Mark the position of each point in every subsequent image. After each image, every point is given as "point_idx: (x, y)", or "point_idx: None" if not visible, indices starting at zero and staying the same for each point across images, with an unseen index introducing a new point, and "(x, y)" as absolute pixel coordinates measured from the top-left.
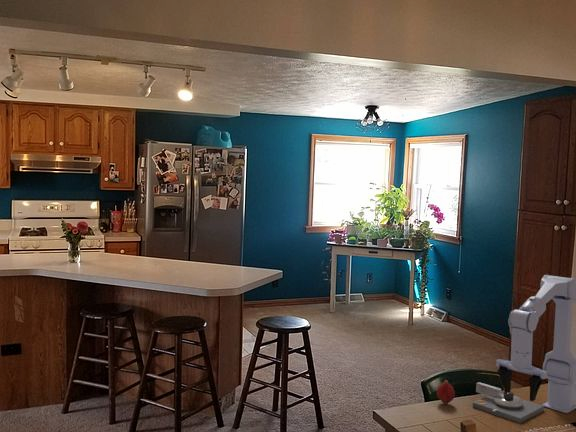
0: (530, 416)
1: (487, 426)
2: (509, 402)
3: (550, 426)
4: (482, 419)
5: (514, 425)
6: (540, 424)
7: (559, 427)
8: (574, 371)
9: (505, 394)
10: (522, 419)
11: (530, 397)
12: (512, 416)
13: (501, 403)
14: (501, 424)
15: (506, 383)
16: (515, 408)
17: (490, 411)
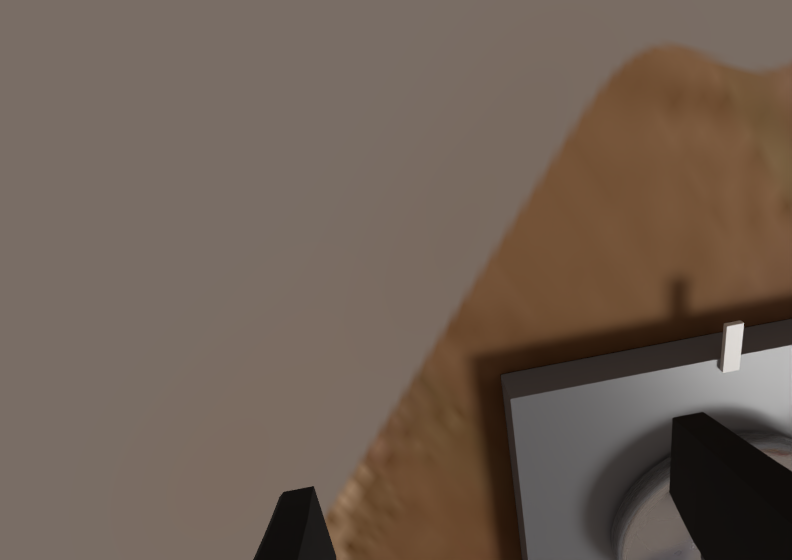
0: (517, 506)
1: (630, 76)
2: None
3: (351, 503)
4: (738, 164)
5: (501, 307)
6: (407, 475)
7: None
8: None
9: None
10: (509, 417)
11: (293, 522)
12: (575, 382)
13: None
14: (575, 229)
15: (783, 543)
16: (631, 492)
17: (759, 332)
